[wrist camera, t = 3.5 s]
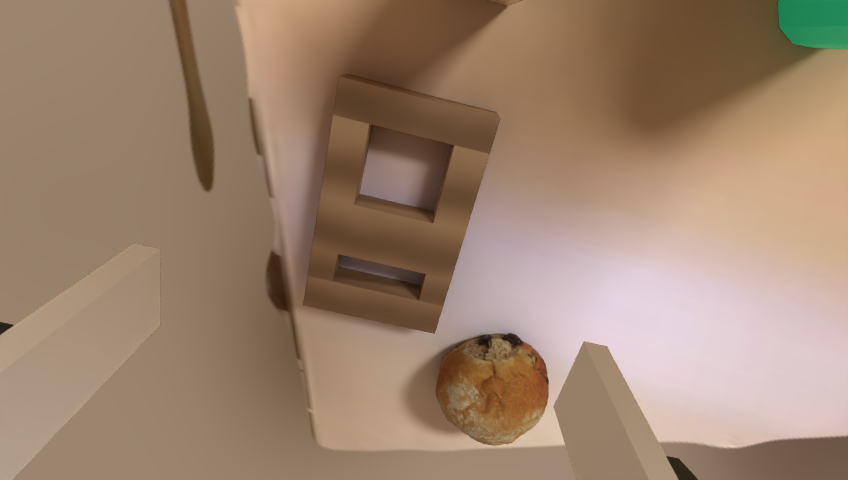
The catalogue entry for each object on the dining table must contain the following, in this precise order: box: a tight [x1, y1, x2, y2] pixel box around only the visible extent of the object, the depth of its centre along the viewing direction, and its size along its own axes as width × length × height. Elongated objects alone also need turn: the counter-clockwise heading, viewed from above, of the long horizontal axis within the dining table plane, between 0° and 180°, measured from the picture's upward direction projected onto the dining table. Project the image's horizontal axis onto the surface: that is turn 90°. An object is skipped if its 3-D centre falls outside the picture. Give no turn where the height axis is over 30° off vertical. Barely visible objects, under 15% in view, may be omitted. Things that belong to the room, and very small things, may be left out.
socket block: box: [303, 74, 500, 334], centre depth 35 cm, size 18×11×2 cm, turn 166°
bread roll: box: [436, 333, 549, 445], centre depth 41 cm, size 10×10×8 cm
